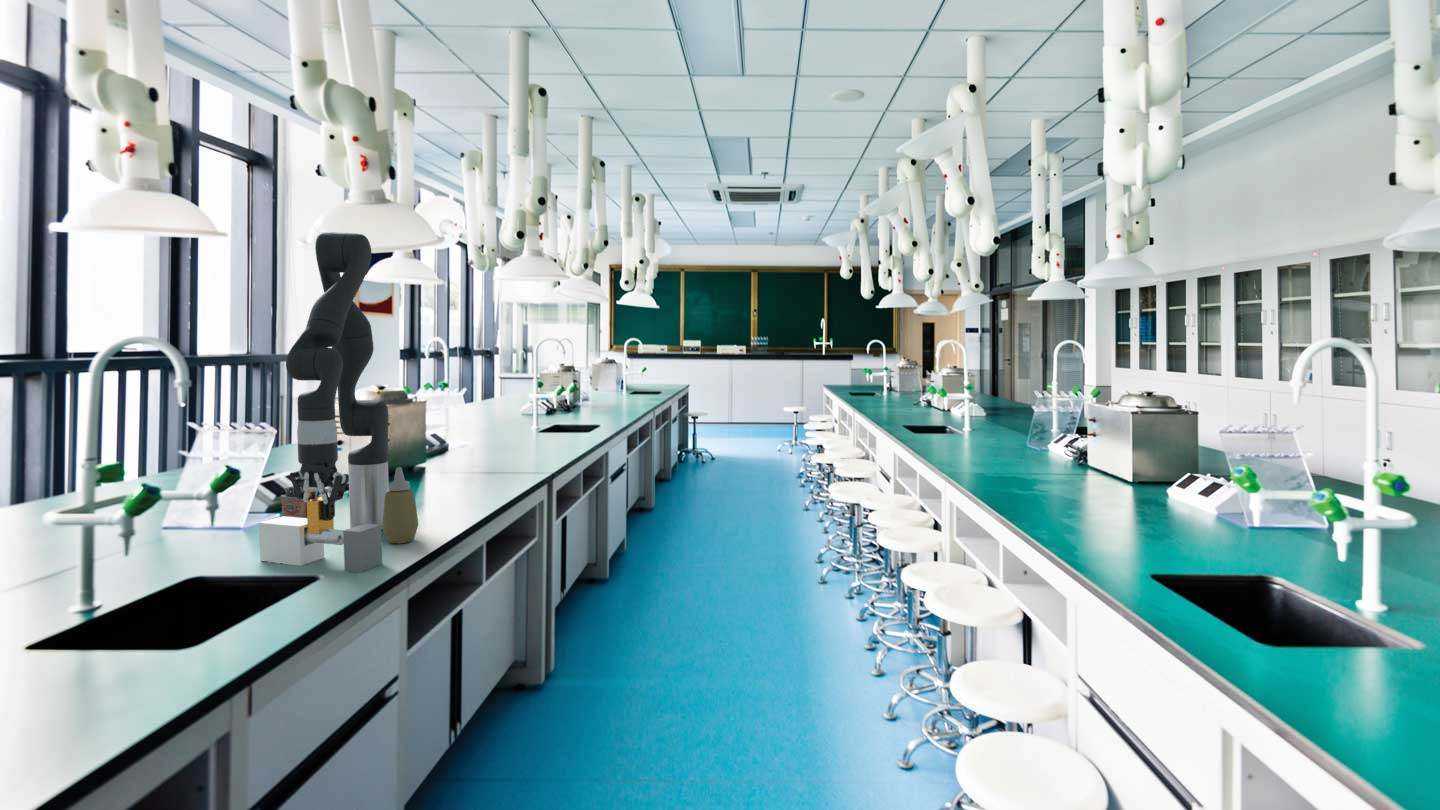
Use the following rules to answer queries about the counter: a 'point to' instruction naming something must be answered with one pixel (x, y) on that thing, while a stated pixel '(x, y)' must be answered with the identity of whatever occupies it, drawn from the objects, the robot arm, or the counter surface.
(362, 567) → the gray box
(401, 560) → the counter surface
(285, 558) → the white box
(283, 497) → the lighter
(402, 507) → the squeeze bottle
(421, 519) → the counter surface
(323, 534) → the slip tube
